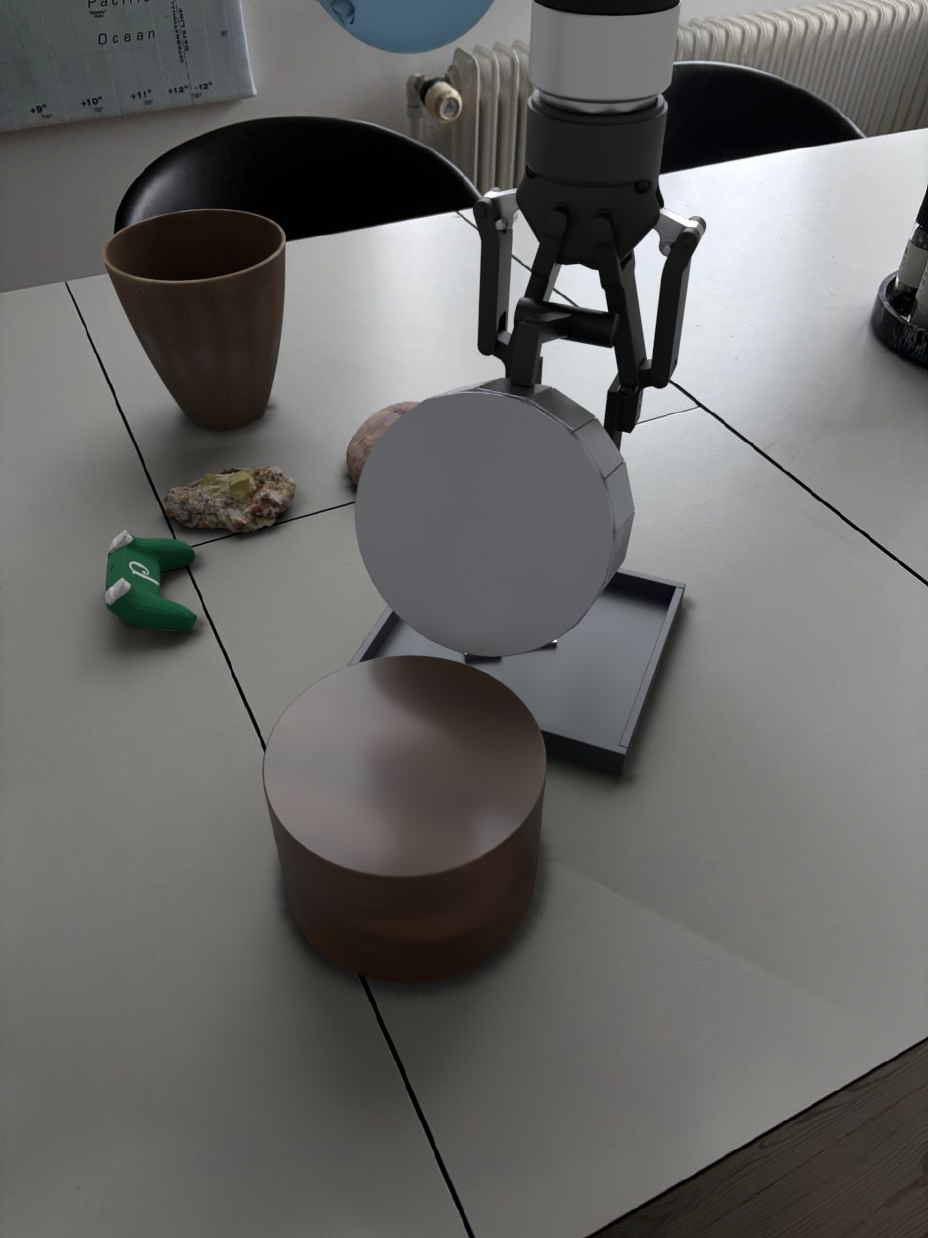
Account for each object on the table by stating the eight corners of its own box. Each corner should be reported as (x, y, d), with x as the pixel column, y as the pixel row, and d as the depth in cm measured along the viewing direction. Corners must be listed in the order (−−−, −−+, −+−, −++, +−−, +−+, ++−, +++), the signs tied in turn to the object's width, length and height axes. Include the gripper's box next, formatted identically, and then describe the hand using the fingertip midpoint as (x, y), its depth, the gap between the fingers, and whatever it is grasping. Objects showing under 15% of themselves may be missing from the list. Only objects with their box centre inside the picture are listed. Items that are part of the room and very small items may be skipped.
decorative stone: (465, 521, 82) (465, 465, 78) (327, 497, 84) (321, 441, 80) (500, 443, 90) (502, 389, 86) (374, 423, 92) (370, 369, 89)
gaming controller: (170, 576, 79) (101, 541, 76) (199, 544, 78) (130, 508, 74) (170, 657, 73) (95, 623, 69) (201, 624, 71) (126, 588, 68)
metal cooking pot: (343, 620, 58) (426, 560, 69) (583, 687, 54) (629, 612, 65) (375, 291, 51) (461, 284, 62) (654, 342, 47) (692, 325, 58)
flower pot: (156, 469, 87) (113, 294, 76) (132, 387, 97) (91, 221, 86) (324, 435, 91) (305, 264, 80) (284, 360, 101) (263, 198, 90)
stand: (354, 740, 65) (341, 628, 58) (568, 808, 61) (581, 695, 54) (237, 929, 55) (206, 820, 48) (484, 1023, 51) (488, 919, 44)
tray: (442, 543, 80) (442, 523, 78) (681, 604, 74) (686, 583, 73) (345, 692, 68) (343, 671, 66) (622, 775, 63) (625, 755, 61)
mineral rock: (288, 444, 86) (294, 474, 79) (297, 492, 88) (304, 525, 81) (160, 464, 84) (155, 497, 77) (172, 513, 86) (168, 548, 79)
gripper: (782, 90, 54) (709, 456, 69) (464, 55, 58) (464, 405, 74) (759, 133, 49) (686, 518, 64) (413, 91, 53) (424, 458, 69)
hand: (567, 457), depth 69 cm, fingers open, 5 cm apart
